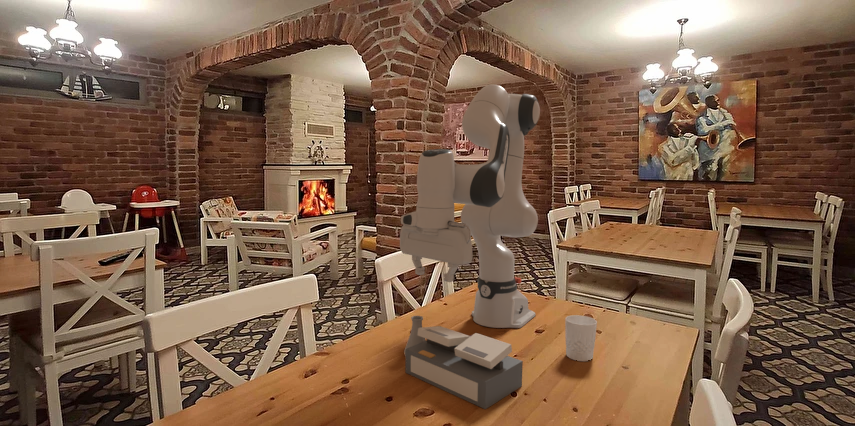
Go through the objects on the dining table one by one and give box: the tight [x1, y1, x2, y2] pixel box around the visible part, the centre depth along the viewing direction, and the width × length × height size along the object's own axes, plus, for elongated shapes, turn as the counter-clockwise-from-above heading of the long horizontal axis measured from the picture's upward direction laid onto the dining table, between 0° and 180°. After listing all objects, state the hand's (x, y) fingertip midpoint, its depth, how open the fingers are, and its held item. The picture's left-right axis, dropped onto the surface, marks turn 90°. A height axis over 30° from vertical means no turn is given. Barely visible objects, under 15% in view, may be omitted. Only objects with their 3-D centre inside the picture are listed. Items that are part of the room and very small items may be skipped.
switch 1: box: [417, 325, 471, 347], centre depth 112 cm, size 8×10×2 cm
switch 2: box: [454, 332, 513, 369], centre depth 104 cm, size 8×10×2 cm
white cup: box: [564, 314, 598, 362], centre depth 122 cm, size 8×8×10 cm
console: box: [405, 339, 524, 410], centre depth 108 cm, size 14×24×8 cm, turn 46°
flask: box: [403, 315, 427, 357], centre depth 123 cm, size 7×7×10 cm
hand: (433, 277), depth 108 cm, fingers open, 8 cm apart
